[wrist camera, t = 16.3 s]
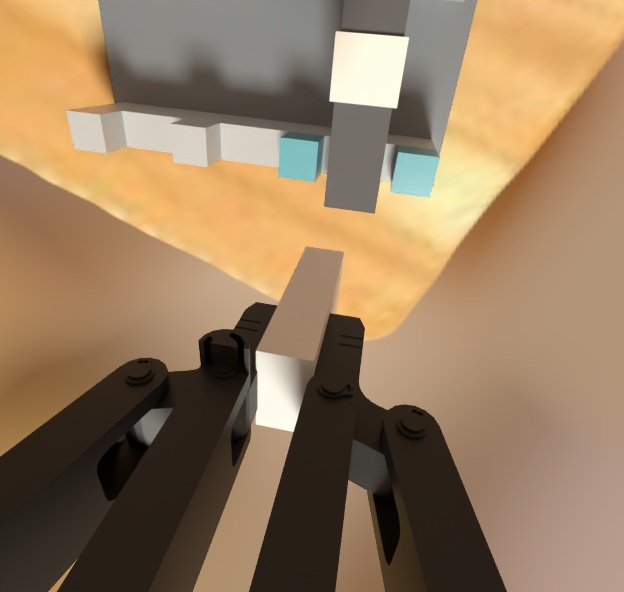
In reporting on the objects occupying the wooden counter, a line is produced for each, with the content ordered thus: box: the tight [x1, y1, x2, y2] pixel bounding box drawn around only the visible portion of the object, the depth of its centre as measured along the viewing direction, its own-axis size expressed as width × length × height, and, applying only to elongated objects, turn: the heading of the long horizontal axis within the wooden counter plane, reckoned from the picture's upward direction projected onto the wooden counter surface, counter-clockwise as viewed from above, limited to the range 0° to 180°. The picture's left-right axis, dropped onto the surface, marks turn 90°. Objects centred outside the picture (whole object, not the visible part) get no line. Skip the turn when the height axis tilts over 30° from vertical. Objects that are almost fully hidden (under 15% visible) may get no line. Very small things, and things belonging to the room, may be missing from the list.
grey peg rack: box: [66, 0, 477, 198], centre depth 32 cm, size 18×32×9 cm, turn 85°
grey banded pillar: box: [324, 0, 410, 213], centre depth 28 cm, size 19×5×5 cm, turn 176°
